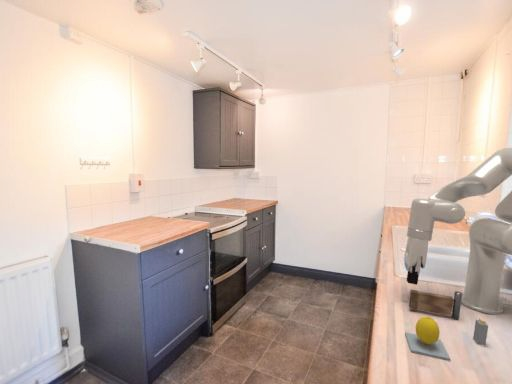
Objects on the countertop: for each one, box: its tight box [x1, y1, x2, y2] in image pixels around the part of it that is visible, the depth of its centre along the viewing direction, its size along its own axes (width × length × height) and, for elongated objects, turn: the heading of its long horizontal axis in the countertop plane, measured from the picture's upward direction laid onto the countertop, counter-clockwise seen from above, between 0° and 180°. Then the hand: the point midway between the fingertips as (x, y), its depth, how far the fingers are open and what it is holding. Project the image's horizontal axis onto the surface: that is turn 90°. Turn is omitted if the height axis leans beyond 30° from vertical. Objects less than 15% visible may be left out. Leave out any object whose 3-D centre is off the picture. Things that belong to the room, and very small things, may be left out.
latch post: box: [472, 318, 489, 346], centre depth 77 cm, size 2×2×7 cm
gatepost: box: [450, 290, 463, 321], centre depth 89 cm, size 2×2×9 cm
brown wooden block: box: [408, 289, 454, 317], centre depth 91 cm, size 12×2×6 cm, turn 71°
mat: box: [404, 331, 451, 362], centre depth 75 cm, size 9×8×1 cm
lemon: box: [415, 316, 441, 345], centre depth 74 cm, size 6×6×8 cm
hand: (411, 282), depth 98 cm, fingers closed
